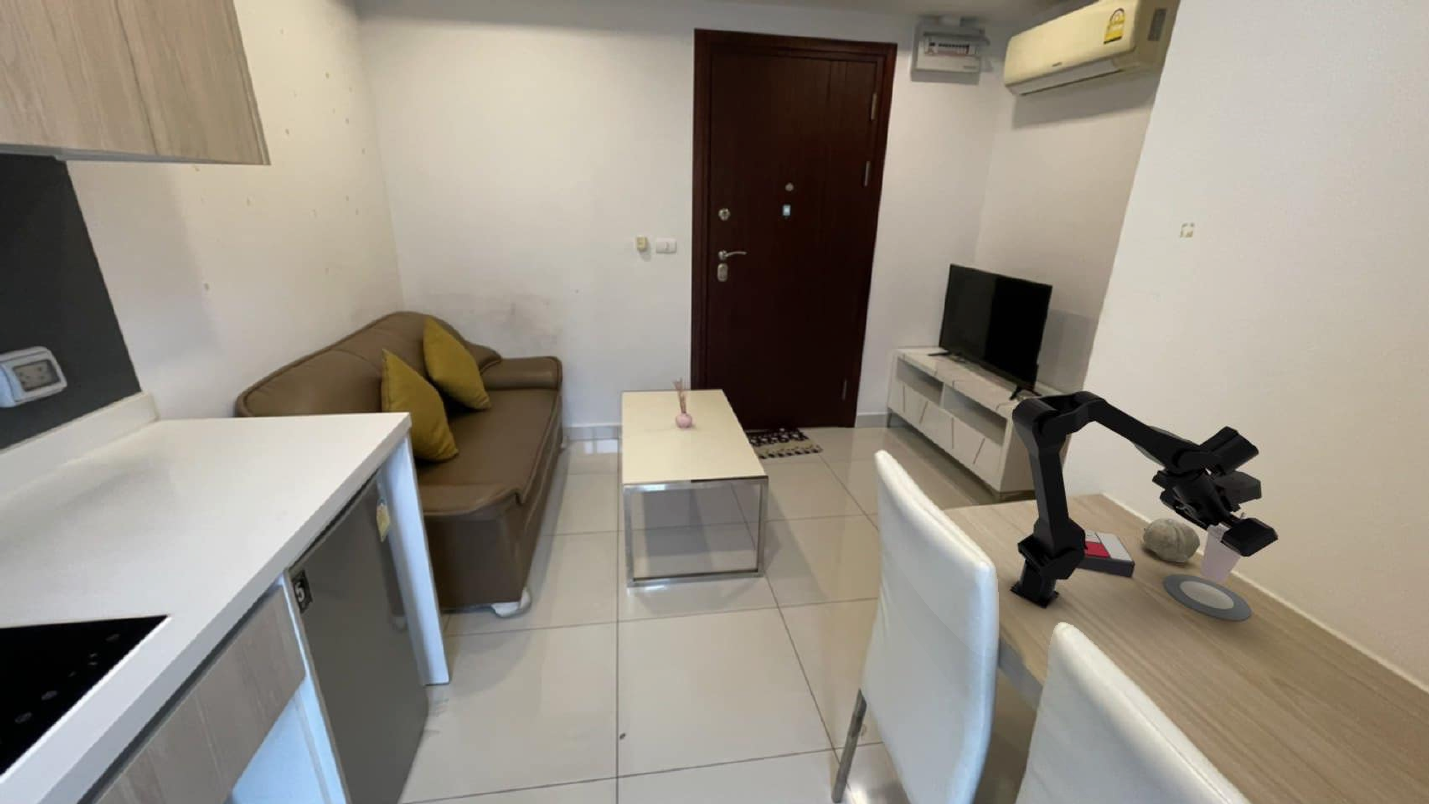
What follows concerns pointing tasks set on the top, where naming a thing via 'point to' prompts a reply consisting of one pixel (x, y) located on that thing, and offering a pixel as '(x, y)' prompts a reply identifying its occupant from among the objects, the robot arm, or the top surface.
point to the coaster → (1207, 597)
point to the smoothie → (1218, 555)
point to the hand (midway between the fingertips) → (1233, 544)
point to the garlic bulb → (1171, 539)
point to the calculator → (1106, 555)
